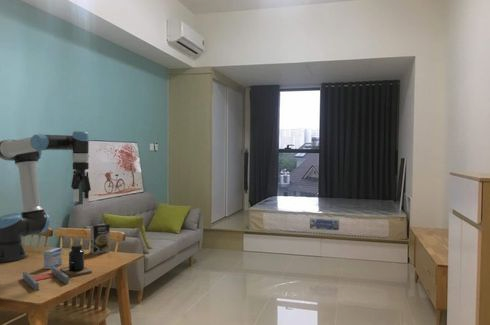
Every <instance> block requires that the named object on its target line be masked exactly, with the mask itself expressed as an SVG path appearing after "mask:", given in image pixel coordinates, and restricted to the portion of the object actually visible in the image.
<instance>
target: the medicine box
mask: <svg viewBox="0 0 490 325" xmlns="http://www.w3.org/2000/svg"><path fill="white" fill-rule="evenodd" d="M62 252H63V251H62V248H61V247H60V248H59V247H53V248H51V249H49V250H45V251H43V269H45V270H52V267H54V266H55V267H56V268H57V267H60V266H62V264H63V263H62V262H63V260H62V259H63V258H62V257H63V255H62V254H63V253H62Z"/></svg>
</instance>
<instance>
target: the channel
mask: <svg viewBox="0 0 490 325" xmlns="http://www.w3.org/2000/svg"><path fill="white" fill-rule="evenodd" d="M51 274H52V275H53V276H54V277H56V278H58V279H59V281H62V282H63V284H65V285H68V283H69V281H70V277H69V276H68V275H66V274H65V273H64V272H62V271H61V270H60V269H59V268H57V267H55V266H54V267H52V269H51ZM22 279H23V280H24V281H25V282H26V283H27V284H28V285H29V286H30V287H31V288H32V289H34V291H39V290H40V289H39V286H40V284H39V282H38V281H36V280H35V279H34V278H33V276H31V275H30V274H29V273H28V272H27V271H23V272H22Z"/></svg>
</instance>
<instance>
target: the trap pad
mask: <svg viewBox="0 0 490 325" xmlns="http://www.w3.org/2000/svg"><path fill="white" fill-rule="evenodd" d="M32 277H33V278H34V279H35V280H36V281H37V282H38V281H41V280H42V281H43V280H47V279H52V278H55V275H54V274H52V272H49V273H45V274H39V275H35V276H34V275H33V276H32Z"/></svg>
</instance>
